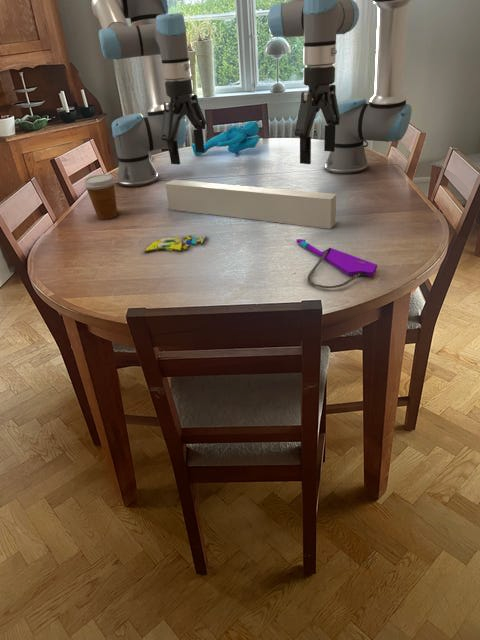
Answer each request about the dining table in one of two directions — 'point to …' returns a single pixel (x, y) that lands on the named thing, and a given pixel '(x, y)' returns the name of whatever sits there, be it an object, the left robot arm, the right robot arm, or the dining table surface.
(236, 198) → the bar
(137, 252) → the dining table surface
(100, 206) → the disposable coffee cup
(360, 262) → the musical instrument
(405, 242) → the dining table surface
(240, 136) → the toy
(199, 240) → the toy
